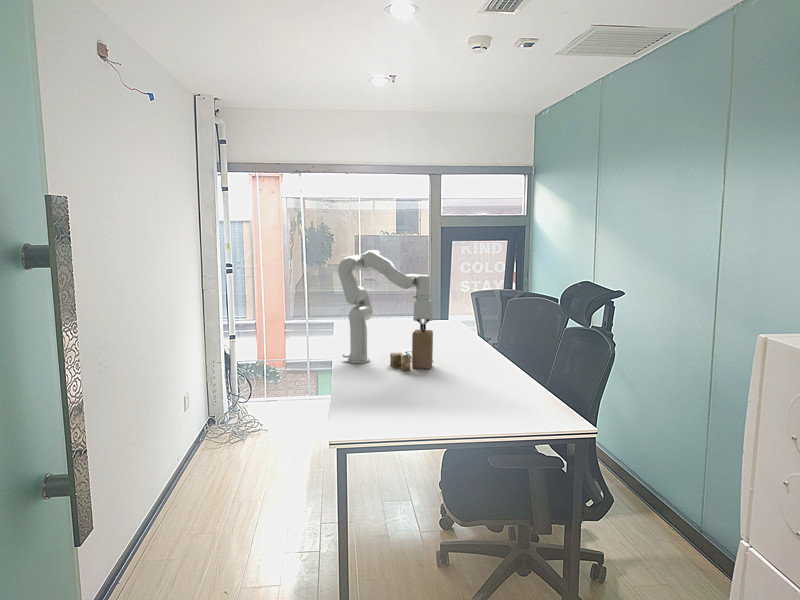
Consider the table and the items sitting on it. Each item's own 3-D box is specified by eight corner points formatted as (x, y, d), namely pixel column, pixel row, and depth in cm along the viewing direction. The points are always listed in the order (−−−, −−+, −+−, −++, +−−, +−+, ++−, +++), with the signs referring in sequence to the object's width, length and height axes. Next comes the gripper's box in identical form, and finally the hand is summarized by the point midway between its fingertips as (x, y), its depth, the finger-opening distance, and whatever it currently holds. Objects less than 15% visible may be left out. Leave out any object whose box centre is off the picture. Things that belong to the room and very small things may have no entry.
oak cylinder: (401, 371, 299) (401, 356, 298) (401, 368, 304) (401, 354, 303) (410, 371, 299) (410, 356, 298) (410, 368, 304) (410, 354, 303)
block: (429, 369, 302) (430, 333, 300) (411, 368, 304) (412, 332, 302) (432, 365, 312) (433, 329, 309) (414, 364, 314) (415, 329, 311)
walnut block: (392, 368, 306) (392, 355, 305) (390, 365, 312) (390, 352, 311) (403, 367, 307) (403, 354, 306) (400, 364, 313) (400, 352, 312)
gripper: (409, 298, 299) (409, 332, 302) (437, 298, 299) (437, 332, 302) (409, 296, 307) (409, 329, 309) (436, 296, 307) (436, 329, 309)
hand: (423, 331), depth 305 cm, fingers closed
